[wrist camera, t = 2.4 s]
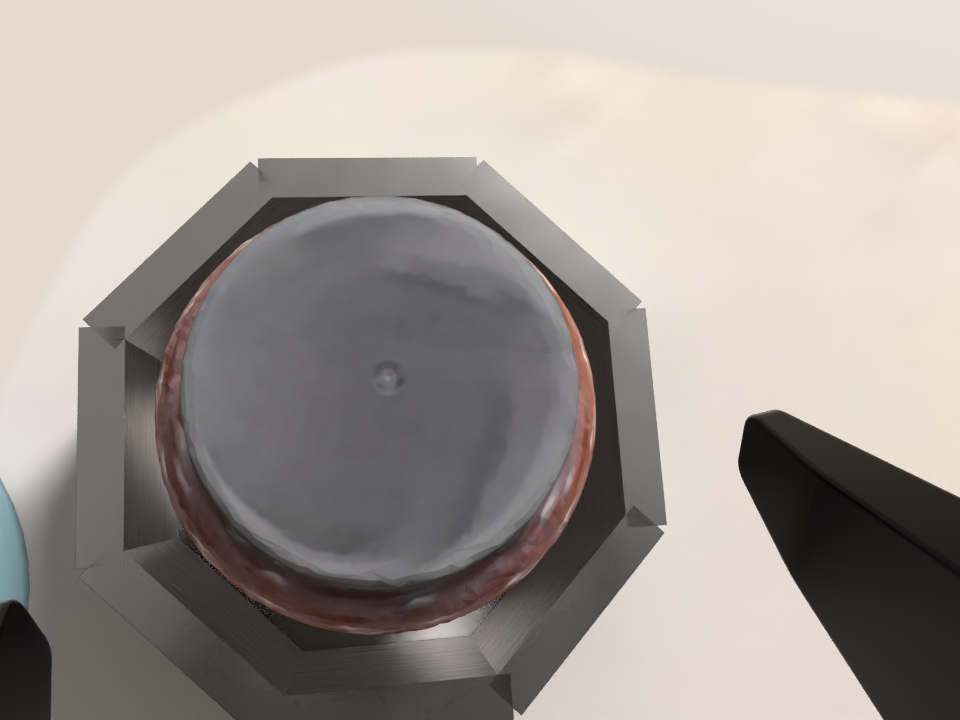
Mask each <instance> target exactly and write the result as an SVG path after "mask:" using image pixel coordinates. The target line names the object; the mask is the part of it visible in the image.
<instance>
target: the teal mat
mask: <svg viewBox="0 0 960 720" xmlns="http://www.w3.org/2000/svg"><path fill="white" fill-rule="evenodd" d="M13 599H14V600H17V601H19V602H21V604H22V605H23V606H24V607H25V608H26V610H27V611H28V602H29V571H28V558H27V553H26V547H25V542H24V536H23V531H22V528H21V526H20V523H19V520H18V517H17V514H16V511H15V508H14V505H13V503H12V501H11V499H10V497H9V495H8V493H7V491H6V489H5V487H4V485H3V483H2V481H1V479H0V602H1V601H5V600H13Z"/></svg>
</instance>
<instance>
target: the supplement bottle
mask: <svg viewBox="0 0 960 720" xmlns="http://www.w3.org/2000/svg"><path fill="white" fill-rule="evenodd" d="M595 429H596V406H595V392H594V384H593V376H592V370H591V367H590V363H589V359H588V357H587V354H586V350H585V347H584V343H583V340H582V337H581V335H580V333H579V331H578V328H577V326H576V324H575V322H574V320H573V318H572V316H571V315H570V313H569V311H568V309H567V308H566V306H565V304H564V303H563V301H562V300H561V298H560V296H559V295H558V293H557V292H556V291H555V289H554V288H553V287H552V285H551V284H550V283H549V281H548V280H547V279H546V277H545V276H544V275H543V274H542V273H541V272H540V271H539V270H538V269H537V268H536V267H535V265H534V264H533V263H532V262H530V261H529V260H528V259H527V258H526V257H525V256H524V255H523V254H522V253H521V252H520V251H519V250H518V249H517V248H516V247H514V246H513V245H512V244H511V243H510V242H508V241H506V240H505V239H504V238H503V237H502V236H501V235H500V234H498V233H497V232H495V231H494V230H492V229H490V228H489V227H487V226H486V225H484V224H483V223H481V222H479V221H478V220H476V219H474V218H472V217H469V216H467V215H465V214H463V213H462V212H460V211H457V210H454V209H452V208H449V207H447V206H444V205H440V204H436V203H432V202H428V201H424V200H420V199H416V198H405V197H398V196H375V195H371V196H365V197H350V198H346V199H342V200H337V201H329V202H326V203H323V204H320V205H317V206H315V207H313V208H309V209H306V210H304V211H302V212H299V213H297V214H295V215H292V216H290V217H287V218H285V219H284V220H282V221H281V222H278V223H276V224H274V225H272V226H270V227H268V228H266V229H265V230H264V231H262V232H261V233H259V234H257V235H255V236H254V237H253V238H251V239H249V240H247V241H246V242H244V243H243V244H242V245H241V246H239V247H238V248H237V249H236V250H235V251H234V252H233V253H232V254H231V255H230V256H229V257H228V258H226V259H225V260H224V261H223V262H222V263H220V264H219V265H218V266H217V267H216V268H215V270H214V271H213V272H212V273H211V274H210V275H209V277H208V278H207V279H206V280H205V281H204V282H203V283H202V285H201V286H200V288H199V290H198V291H197V292H196V293H195V295H194V296H193V297H192V298H191V300H190V301H189V303H188V305H187V306H186V308H185V309H184V310H183V312H182V314H181V317H180V318H179V320H178V321H177V323H176V324H175V327H174V331H173V333H172V335H171V338H170V340H169V342H168V345H167V347H166V350H165V353H164V355H163V357H162V364H161V368H160V374H159V378H158V383H157V384H156V386H155V437H156V450H157V454H158V459H159V463H160V468H161V472H162V478H163V482H164V485H165V487H166V489H167V492H168V495H169V498H170V501H171V504H172V507H173V509H174V511H175V513H176V515H177V517H178V519H179V520H180V522H181V523H182V525H183V527H184V530H185V532H186V534H187V535H188V536H189V537H190V538H191V540H192V541H193V543H194V544H195V545H196V546H197V548H198V549H199V551H200V552H201V553H202V555H203V556H204V557H205V558H206V559H207V560H208V561H209V562H210V564H211V565H213V566H214V567H215V568H216V569H217V570H218V571H220V572H221V573H222V574H223V575H224V576H225V577H226V578H227V580H228V581H229V582H230V583H232V584H233V585H234V586H235V587H237V588H238V589H239V590H240V591H242V592H243V593H244V594H246V595H247V596H248V597H250V598H251V599H252V600H255V601H257V602H259V603H261V604H263V605H265V606H266V607H268V608H269V609H271V610H273V611H275V612H277V613H279V614H281V615H285V616H287V617H290V618H292V619H294V620H296V621H299V622H302V623H304V624H307V625H310V626H314V627H320V628H322V629H325V630H330V631H336V632H343V633H349V634H363V635H387V634H396V633H402V632H406V631H417V630H423V629H427V628H431V627H434V626H436V625H439V624H441V623H447V622H450V621H452V620H454V619H456V618H458V617H461V616H464V615H466V614H468V613H470V612H472V611H474V610H476V609H479V608H481V607H482V606H484V605H486V604H488V603H489V602H491V601H493V600H494V599H496V598H497V597H499V596H500V595H501V594H503V593H504V592H506V591H507V590H509V589H510V588H512V587H513V586H514V585H515V584H517V583H518V582H519V581H521V580H522V579H523V578H524V577H525V576H527V575H528V574H529V573H530V572H531V571H532V569H533V568H534V567H535V566H536V565H537V564H538V562H539V561H540V560H541V559H542V558H543V557H544V555H545V554H546V553H547V552H548V551H549V550H550V548H551V547H552V546H553V545H554V544H555V542H556V541H557V540H558V538H559V537H560V535H561V534H562V531H563V530H564V528H565V527H566V526H567V523H568V521H569V518H570V516H571V515H572V513H573V512H574V510H575V508H576V505H577V503H578V500H579V498H580V496H581V493H582V490H583V487H584V485H585V482H586V478H587V475H588V471H589V468H590V464H591V461H592V454H593V449H594V442H595Z"/></svg>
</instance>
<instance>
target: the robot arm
mask: <svg viewBox="0 0 960 720" xmlns="http://www.w3.org/2000/svg"><path fill="white" fill-rule="evenodd" d="M738 465H739V471H740V474H741V477H742V479H743V481H744V483H745V485H746V487H747V489H748V491H749V493H750V495H751V497H752V499H753V501H754V503H755V505H756V507H757V509H758V511H759V513H760V515H761V517H762V519H763V521H764V523H765V525H766V527H767V529H768V531H769V533H770V535H771V537H772V539H773V541H774V543H775V545H776V547H777V549H778V551H779V553H780V555H781V557H782V559H783V561H784V563H785V565H786V567H787V569H788V571H789V572H790V574H791V576H792V578H793V579H794V581H795V583H796V584H797V586H798V588H799V589H800V591H801V592H802V594H803V596H804V597H805V599H806V600H807V602H808V603H809V605H810V606H811V608H812V610H813V611H814V613H815V614H816V616H817V617H818V619H819V620H820V622H821V624H822V625H823V627H824V628H825V630H826V631H827V633H828V634H829V636H830V638H831V639H832V641H833V642H834V644H835V645H836V647H837V648H838V650H839V652H840V653H841V655H842V656H843V658H844V659H845V661H846V662H847V664H848V666H849V667H850V669H851V670H852V672H853V673H854V675H855V676H856V678H857V679H858V681H859V683H860V684H861V686H862V687H863V689H864V690H865V692H866V693H867V695H868V697H869V698H870V700H871V701H872V703H873V704H874V706H875V707H876V709H877V711H878V712H879V714H880V715H881V717H882V718H883V720H960V497H958V496H956V495H954V494H952V493H950V492H947V491H945V490H943V489H941V488H939V487H937V486H935V485H933V484H931V483H929V482H927V481H925V480H923V479H921V478H919V477H917V476H915V475H913V474H911V473H909V472H906V471H904V470H902V469H900V468H898V467H896V466H894V465H892V464H890V463H888V462H886V461H884V460H882V459H880V458H878V457H876V456H874V455H872V454H870V453H868V452H865V451H863V450H861V449H859V448H857V447H855V446H853V445H851V444H849V443H847V442H845V441H843V440H841V439H839V438H837V437H835V436H833V435H831V434H829V433H827V432H824V431H822V430H820V429H818V428H816V427H814V426H812V425H810V424H808V423H806V422H804V421H802V420H800V419H798V418H796V417H794V416H792V415H790V414H788V413H786V412H783V411H780V410H770V411H766V412H762V413H758V414H754V415H751V416H749V417H748V419H747V420H746V421H745V425H744V430H743V436H742V441H741V447H740V453H739V458H738ZM51 668H52V658H51V650H50V646H49V643H48V641H47V639H46V637H45V636H44V634H43V633H42V631H41V630H40V628H39V627H38V626H37V624H36V623H35V621H34V620H33V618H32V617H31V616H30V614H29V613H28V611H27V610H26V608H25V607H24V606H23V605H22V604H21V602H19V601H17V600H14V599H13V600H5V601H1V602H0V720H51Z"/></svg>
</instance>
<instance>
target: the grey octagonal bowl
mask: <svg viewBox="0 0 960 720" xmlns="http://www.w3.org/2000/svg"><path fill="white" fill-rule="evenodd" d="M371 195H375V196H398V197H405V198H416V199H420V200H424V201H428V202H432V203H436V204H440V205H444V206H447V207H449V208H452V209H454V210H457V211H460V212H462V213H463V214H465V215H467V216H469V217H472V218H474V219H476V220H478V221H479V222H481V223H483V224H484V225H486V226H487V227H489V228H490V229H492V230H494V231H495V232H497V233H498V234H500V235H501V236H502V237H503V238H504V239H505V240H506V241H508V242H510V243H511V244H512V245H513V246H514V247H516V248H517V249H518V250H519V251H520V252H521V253H522V254H523V255H524V256H525V257H526V258H527V259H528V260H529V261H530V262H532V263H533V264H534V265H535V267H536V268H537V269H538V270H539V271H540V272H541V273H542V274H543V275H544V276H545V277H546V279H547V280H548V281H549V283H550V284H551V285H552V287H553V288H554V289H555V291H556V292H557V293H558V295H559V296H560V298H561V300H562V301H563V303H564V304H565V306H566V308H567V309H568V311H569V313H570V315H571V316H572V318H573V320H574V322H575V324H576V326H577V328H578V331H579V333H580V335H581V337H582V340H583V343H584V347H585V350H586V354H587V357H588V359H589V363H590V367H591V370H592V376H593V384H594V392H595V406H596V429H595V442H594V449H593V454H592V461H591V464H590V468H589V471H588V475H587V478H586V482H585V485H584V487H583V490H582V493H581V496H580V498H579V500H578V503H577V505H576V508H575V510H574V512H573V513H572V515H571V516H570V518H569V521H568V523H567V526H566V527H565V528H564V530H563V531H562V534H561V535H560V537H559V538H558V540H557V541H556V542H555V544H554V545H553V546H552V547H551V548H550V550H549V551H548V552H547V553H546V554H545V555H544V557H543V558H542V559H541V560H540V561H539V562H538V564H537V565H536V566H535V567H534V568H533V569H532V571H531V572H530V573H529V574H528V575H527V576H525V577H524V578H523V579H522V580H521V581H519V582H518V583H517V584H515V585H514V586H513V587H512V588H510V589H509V590H508V591H507V592H506V594H505V595H504V596H503V597H502V599H501V600H500V601H499V602H498V603H497V605H496V606H495V607H494V608H493V609H492V611H491V612H490V613H489V614H488V616H487V617H486V618H485V619H484V620H483V622H482V623H481V624H480V625H479V627H478V628H477V629H476V630H475V631H474V633H473V634H472V635H471V636H463V637H452V638H441V639H430V640H419V641H408V642H398V643H387V644H376V645H365V646H354V647H343V648H332V649H322V650H311V651H303V650H302V649H301V648H300V647H298V646H297V645H296V644H295V643H294V642H293V641H292V640H291V639H290V638H288V637H287V636H286V635H285V634H284V633H283V632H282V631H281V630H280V629H279V628H277V627H276V626H275V625H274V624H273V623H272V622H271V621H270V620H269V619H267V618H266V617H265V616H264V615H263V614H262V613H261V612H260V611H259V610H258V609H256V608H255V607H254V606H253V605H252V604H251V603H250V602H249V601H248V600H246V599H245V598H244V597H243V596H242V595H241V594H240V593H239V592H238V591H237V590H235V589H234V588H233V587H232V586H231V585H230V584H229V583H228V582H227V581H225V580H224V579H223V578H222V577H221V576H220V575H219V574H218V573H217V572H216V571H214V570H213V569H212V568H211V567H210V566H209V565H208V564H207V563H206V562H204V561H203V560H202V559H201V558H200V557H199V556H198V555H197V554H196V553H195V552H193V551H192V550H191V549H190V548H189V547H188V546H187V545H186V544H185V543H183V542H182V541H181V540H180V539H179V538H178V517H177V515H176V513H175V511H174V509H173V507H172V504H171V501H170V498H169V495H168V492H167V489H166V487H165V485H164V482H163V478H162V472H161V468H160V463H159V459H158V454H157V450H156V437H155V386H156V384H157V383H158V378H159V374H160V368H161V364H162V357H163V355H164V353H165V350H166V347H167V345H168V342H169V340H170V338H171V335H172V333H173V331H174V327H175V324H176V323H177V321H178V320H179V318H180V317H181V314H182V312H183V310H184V309H185V308H186V306H187V305H188V303H189V301H190V300H191V298H192V297H193V296H194V295H195V293H196V292H197V291H198V290H199V288H200V286H201V285H202V283H203V282H204V281H205V280H206V279H207V278H208V277H209V275H210V274H211V273H212V272H213V271H214V270H215V268H216V267H217V266H218V265H219V264H220V263H222V262H223V261H224V260H225V259H226V258H228V257H229V256H230V255H231V254H232V253H233V252H234V251H235V250H236V249H237V248H238V247H239V246H241V245H242V244H243V243H244V242H246V241H247V240H249V239H251V238H253V237H254V236H255V235H257V234H259V233H261V232H262V231H264V230H265V229H266V228H268V227H270V226H272V225H274V224H276V223H278V222H281V221H282V220H284V219H285V218H287V217H290V216H292V215H295V214H297V213H299V212H302V211H304V210H306V209H309V208H313V207H315V206H317V205H320V204H323V203H326V202H329V201H337V200H342V199H346V198H350V197H365V196H371ZM641 302H642V301H641V300H640V299H639V298H637V297H636V296H635V295H634V294H633V293H632V292H631V291H630V290H628V289H627V288H626V287H625V286H624V285H623V284H622V283H621V282H619V281H618V280H617V279H616V278H615V277H614V276H613V275H612V274H611V273H609V272H608V271H607V270H606V269H605V268H604V267H603V266H602V265H600V264H599V263H598V262H597V261H596V260H595V259H594V258H593V257H591V256H590V255H589V254H588V253H587V252H586V251H585V250H584V249H583V248H581V247H580V246H579V245H578V244H577V243H576V242H575V241H574V240H572V239H571V238H570V237H569V236H568V235H567V234H566V233H565V232H563V231H562V230H561V229H560V228H559V227H558V226H557V225H556V224H555V223H553V222H552V221H551V220H550V219H549V218H548V217H547V216H546V215H544V214H543V213H542V212H541V211H540V210H539V209H538V208H537V207H535V206H534V205H533V204H532V203H531V202H530V201H529V200H528V199H527V198H525V197H524V196H523V195H522V194H521V193H520V192H519V191H518V190H516V189H515V188H514V187H513V186H512V185H511V184H510V183H509V182H507V181H506V180H505V179H504V178H503V177H502V176H501V175H500V174H498V173H497V172H496V171H495V170H494V169H493V168H492V167H491V166H490V165H488V164H487V163H486V162H485V161H484V160H483V161H482V162H481V163H480V164H479V165H478V166H477V163H476V157H443V158H269V159H258V168H257V167H256V166H255V165H254V164H252V163H251V162H249V163H248V164H247V165H246V166H245V167H244V168H243V169H242V170H241V171H240V172H239V173H238V174H237V175H236V176H235V177H234V178H232V179H231V180H230V181H229V182H228V183H227V184H226V185H225V186H224V187H223V188H222V189H221V190H220V191H219V192H218V193H217V194H215V195H214V196H213V197H212V198H211V199H210V200H209V201H208V202H207V203H206V204H205V205H204V206H203V207H202V208H201V209H200V210H198V211H197V212H196V213H195V214H194V215H193V216H192V217H191V218H190V219H189V220H188V221H187V222H186V223H185V224H184V225H183V226H182V227H180V228H179V229H178V230H177V231H176V232H175V233H174V234H173V235H172V236H171V237H170V238H169V239H168V240H167V241H166V242H165V243H163V244H162V245H161V246H160V247H159V248H158V249H157V250H156V251H155V252H154V253H153V254H152V255H151V256H150V257H149V258H148V259H146V260H145V261H144V262H143V263H142V264H141V265H140V266H139V267H138V268H137V269H136V270H135V271H134V272H133V273H132V274H131V275H129V276H128V277H127V278H126V279H125V280H124V281H123V282H122V283H121V284H120V285H119V286H118V287H117V288H116V289H115V290H114V291H113V292H111V293H110V294H109V295H108V296H107V297H106V298H105V299H104V300H103V301H102V302H101V303H100V304H99V305H98V306H97V307H96V308H94V309H93V310H92V311H91V312H90V313H89V314H88V315H87V316H86V317H85V318H84V319H83V320H84V321H85V322H86V323H87V324H88V325H89V326H90V327H83V328H79V358H78V421H77V485H76V549H75V569H81V568H87V569H86V570H85V572H84V573H83V574H82V575H81V576H80V577H79V578H80V579H81V580H82V581H83V582H84V583H86V584H87V585H88V586H89V587H90V588H91V589H92V590H93V591H94V592H96V593H97V594H98V595H99V596H100V597H101V598H102V599H103V600H104V601H105V602H107V603H108V604H109V605H110V606H111V607H112V608H113V609H114V610H115V611H116V612H118V613H119V614H120V615H121V616H122V617H123V618H124V619H125V620H126V621H128V622H129V623H130V624H131V625H132V626H133V627H134V628H135V629H136V630H137V631H139V632H140V633H141V634H142V635H143V636H144V637H145V638H146V639H147V640H148V641H150V642H151V643H152V644H153V645H154V646H155V647H156V648H157V649H158V650H159V651H161V652H162V653H163V654H164V655H165V656H166V657H167V658H168V659H169V660H171V661H172V662H173V663H174V664H175V665H176V666H177V667H178V668H179V669H180V670H182V671H183V672H184V673H185V674H186V675H187V676H188V677H189V678H190V679H191V680H193V681H194V682H195V683H196V684H197V685H198V686H199V687H200V688H201V689H203V690H204V691H205V692H206V693H207V694H208V695H209V696H210V697H211V698H212V699H214V700H215V701H216V702H217V703H218V704H219V705H220V706H221V707H222V708H223V709H225V710H226V711H227V712H228V713H229V714H230V715H231V716H232V717H233V718H234V719H236V720H514V717H513V708H514V709H515V710H516V711H517V712H518V713H519V714H520V715H522V714H523V713H524V711H525V710H526V709H527V708H528V706H529V705H530V704H531V703H532V701H533V700H534V699H535V697H536V696H537V695H538V694H539V692H540V691H541V690H542V688H543V687H544V686H545V685H546V683H547V682H548V681H549V680H550V678H551V677H552V676H553V674H554V673H555V672H556V671H557V669H558V668H559V667H560V666H561V664H562V663H563V662H564V660H565V659H566V658H567V657H568V655H569V654H570V653H571V651H572V650H573V649H574V648H575V646H576V645H577V644H578V643H579V641H580V640H581V639H582V637H583V636H584V635H585V634H586V632H587V631H588V630H589V628H590V627H591V626H592V625H593V623H594V622H595V621H596V620H597V618H598V617H599V616H600V614H601V613H602V612H603V611H604V609H605V608H606V607H607V606H608V604H609V603H610V602H611V600H612V599H613V598H614V597H615V595H616V594H617V593H618V591H619V590H620V589H621V588H622V586H623V585H624V584H625V583H626V581H627V580H628V579H629V577H630V576H631V575H632V574H633V572H634V571H635V570H636V568H637V567H638V566H639V565H640V563H641V562H642V561H643V560H644V558H645V557H646V556H647V554H648V553H649V552H650V551H651V549H652V548H653V547H654V546H655V544H656V543H657V542H658V540H659V539H660V538H661V537H662V535H663V534H664V532H663V531H662V530H661V529H660V528H659V527H657V525H667V522H666V512H665V502H664V492H663V482H662V472H661V462H660V452H659V441H658V431H657V421H656V411H655V401H654V391H653V381H652V371H651V361H650V351H649V340H648V330H647V320H646V310H645V308H641V309H635V308H636V307H637V306H638V305H639V304H640V303H641Z"/></svg>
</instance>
